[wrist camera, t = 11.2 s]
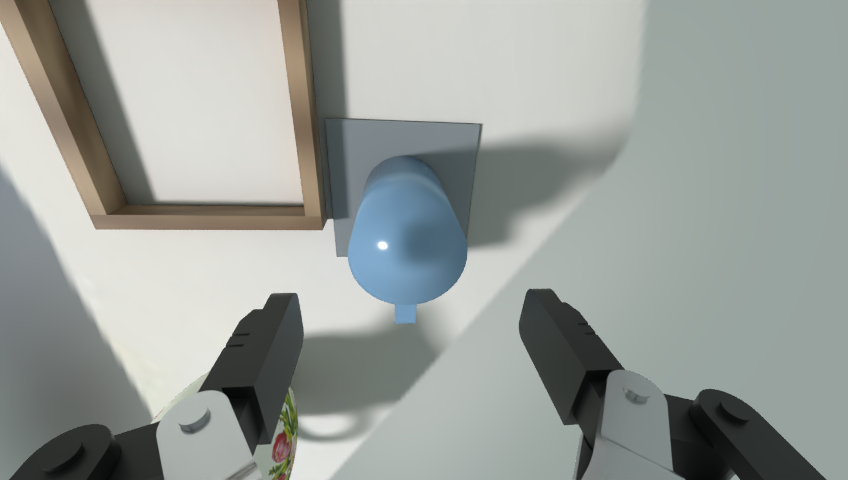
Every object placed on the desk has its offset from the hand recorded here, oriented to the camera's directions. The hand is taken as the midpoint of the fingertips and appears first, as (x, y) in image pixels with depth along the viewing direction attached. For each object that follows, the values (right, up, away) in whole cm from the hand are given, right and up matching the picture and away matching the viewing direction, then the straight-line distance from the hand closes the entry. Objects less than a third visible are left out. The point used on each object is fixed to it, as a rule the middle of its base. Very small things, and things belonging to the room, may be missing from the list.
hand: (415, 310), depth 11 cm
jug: (-1, +5, +12) cm, 13 cm away
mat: (-1, +6, +12) cm, 13 cm away
